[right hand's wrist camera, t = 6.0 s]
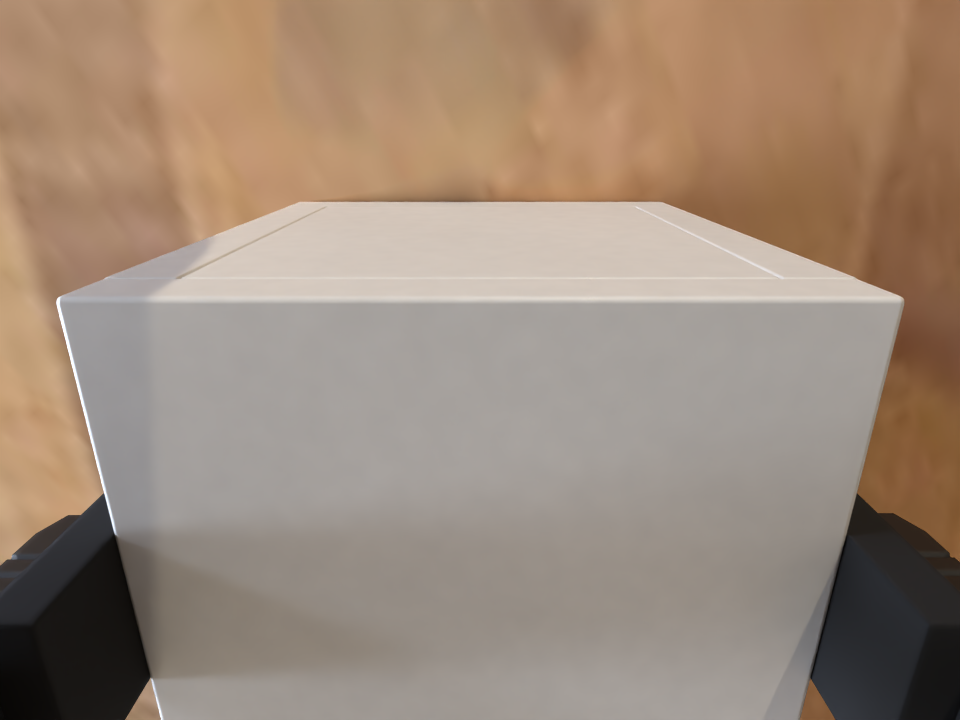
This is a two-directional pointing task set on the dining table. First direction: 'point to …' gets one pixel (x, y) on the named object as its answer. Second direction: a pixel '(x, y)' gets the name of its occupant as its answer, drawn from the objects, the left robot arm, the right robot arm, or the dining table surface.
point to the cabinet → (480, 461)
